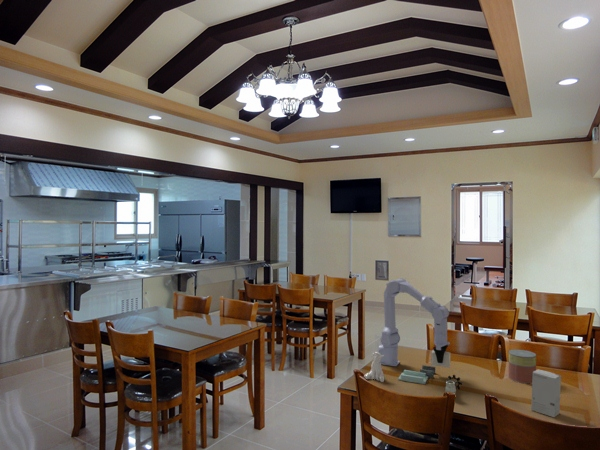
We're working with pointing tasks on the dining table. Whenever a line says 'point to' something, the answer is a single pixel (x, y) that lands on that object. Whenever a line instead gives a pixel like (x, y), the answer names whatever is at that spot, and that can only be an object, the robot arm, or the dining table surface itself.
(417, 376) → the cradle
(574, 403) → the dining table surface
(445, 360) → the white block
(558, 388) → the skincare box
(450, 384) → the valve
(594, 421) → the dining table surface
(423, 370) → the channel
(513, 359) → the canned food
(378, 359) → the sitting furry creature
